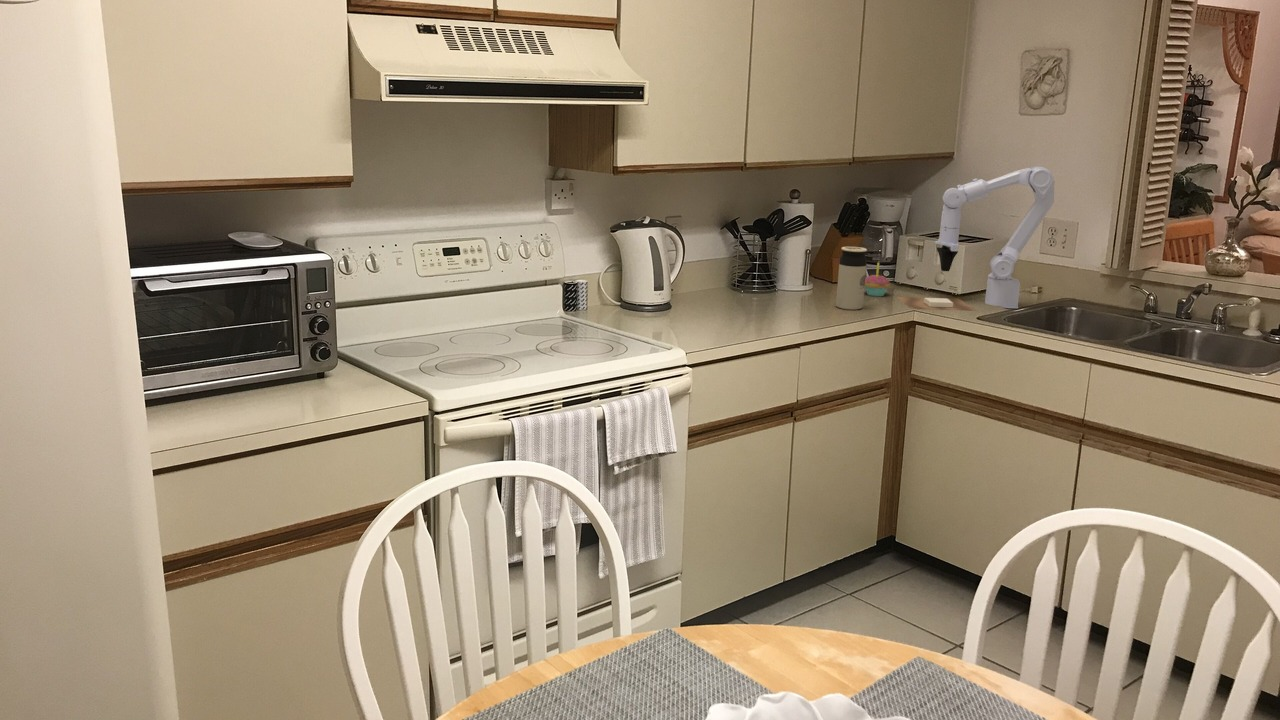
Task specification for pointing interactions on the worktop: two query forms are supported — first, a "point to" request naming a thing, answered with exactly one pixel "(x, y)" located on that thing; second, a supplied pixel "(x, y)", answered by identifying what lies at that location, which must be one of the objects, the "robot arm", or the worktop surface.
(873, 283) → the cupcake
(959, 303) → the board
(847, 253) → the travel mug
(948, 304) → the tile
